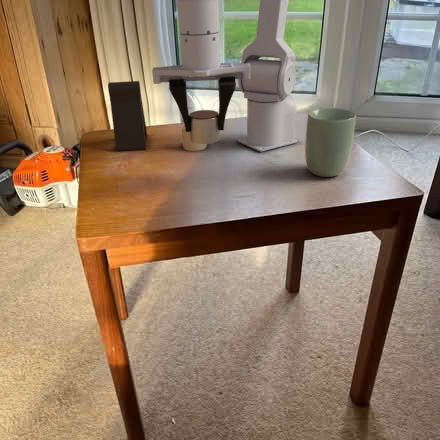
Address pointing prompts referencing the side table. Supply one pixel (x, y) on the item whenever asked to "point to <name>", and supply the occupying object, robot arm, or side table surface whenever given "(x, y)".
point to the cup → (329, 140)
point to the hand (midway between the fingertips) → (204, 129)
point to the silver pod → (204, 127)
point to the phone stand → (127, 115)
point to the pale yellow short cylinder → (188, 144)
